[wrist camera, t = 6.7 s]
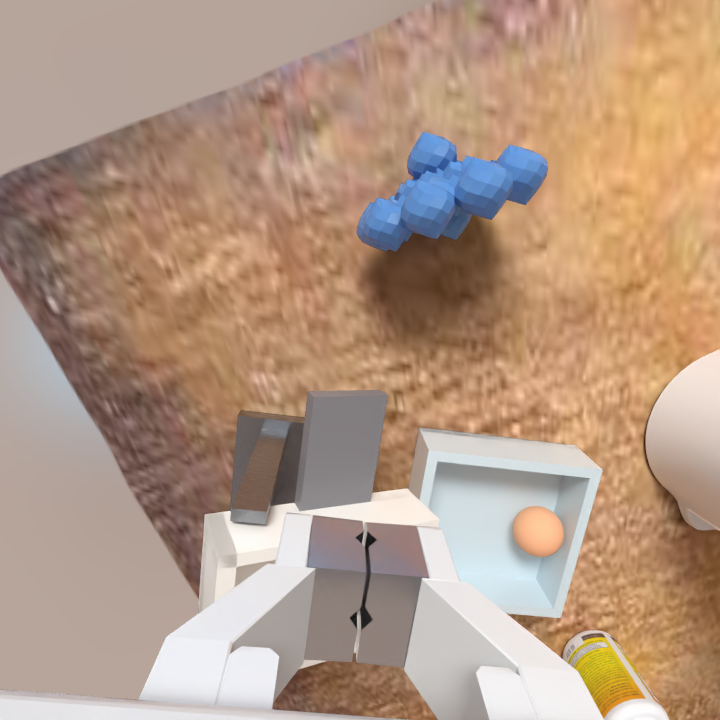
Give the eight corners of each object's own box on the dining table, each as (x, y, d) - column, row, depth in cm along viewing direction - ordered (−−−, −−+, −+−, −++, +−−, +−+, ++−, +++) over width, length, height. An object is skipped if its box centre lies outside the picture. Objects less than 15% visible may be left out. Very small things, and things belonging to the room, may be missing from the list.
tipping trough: (425, 389, 33) (461, 410, 30) (388, 594, 37) (416, 634, 34) (213, 392, 27) (229, 420, 23) (195, 641, 31) (206, 696, 27)
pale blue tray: (574, 445, 42) (602, 469, 37) (538, 581, 45) (560, 618, 41) (419, 427, 41) (428, 450, 36) (393, 567, 44) (399, 604, 39)
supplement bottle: (548, 661, 47) (604, 774, 37) (581, 618, 46) (647, 722, 36) (595, 681, 48) (661, 796, 38) (627, 639, 47) (705, 747, 37)
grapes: (486, 118, 35) (560, 60, 23) (511, 211, 37) (593, 200, 25) (334, 177, 35) (333, 149, 24) (366, 266, 37) (380, 280, 26)
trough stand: (314, 418, 40) (304, 502, 27) (297, 555, 43) (280, 687, 30) (240, 410, 40) (195, 491, 27) (228, 549, 43) (183, 680, 30)
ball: (580, 522, 39) (537, 524, 37) (568, 566, 40) (526, 569, 38) (548, 496, 42) (508, 497, 41) (537, 536, 43) (498, 538, 42)
